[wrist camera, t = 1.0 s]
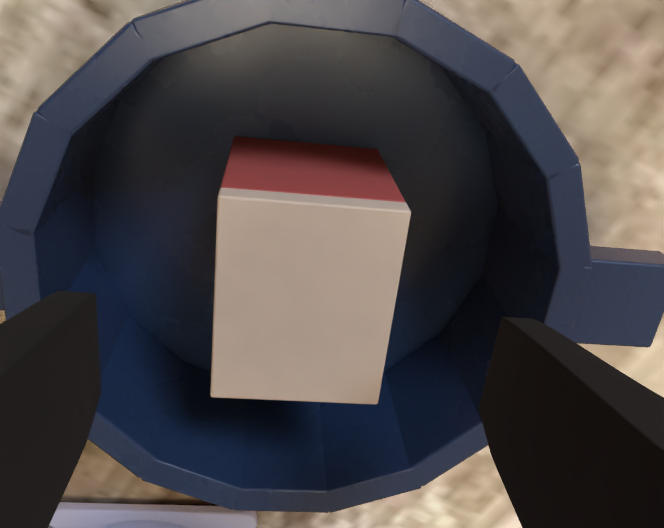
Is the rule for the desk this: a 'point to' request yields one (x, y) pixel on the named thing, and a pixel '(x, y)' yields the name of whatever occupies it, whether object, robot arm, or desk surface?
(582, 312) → the pot
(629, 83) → the desk surface
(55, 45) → the desk surface
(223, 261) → the red two-tone block
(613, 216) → the desk surface
